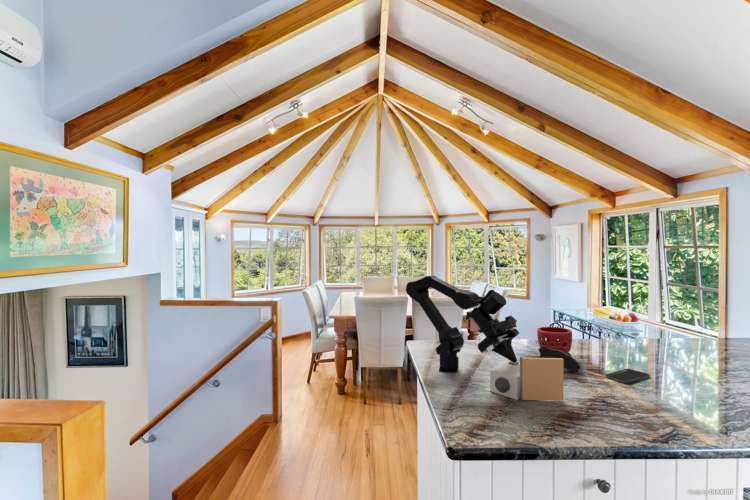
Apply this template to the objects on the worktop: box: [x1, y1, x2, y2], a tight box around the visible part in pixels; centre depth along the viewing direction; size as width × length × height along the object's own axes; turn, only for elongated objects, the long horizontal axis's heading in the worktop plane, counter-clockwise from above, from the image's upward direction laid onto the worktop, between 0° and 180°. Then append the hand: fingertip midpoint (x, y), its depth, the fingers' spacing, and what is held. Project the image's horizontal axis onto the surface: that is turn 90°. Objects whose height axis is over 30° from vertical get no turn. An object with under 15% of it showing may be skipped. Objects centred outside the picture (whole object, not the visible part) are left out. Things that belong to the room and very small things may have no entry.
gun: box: [538, 345, 584, 374], centre depth 134 cm, size 3×16×10 cm, turn 79°
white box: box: [489, 360, 520, 400], centre depth 117 cm, size 9×15×8 cm, turn 133°
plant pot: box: [536, 326, 573, 356], centre depth 150 cm, size 13×13×12 cm
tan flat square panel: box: [519, 356, 565, 402], centre depth 109 cm, size 2×12×12 cm, turn 86°
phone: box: [605, 368, 651, 385], centre depth 127 cm, size 8×1×15 cm
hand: (515, 361), depth 117 cm, fingers closed
